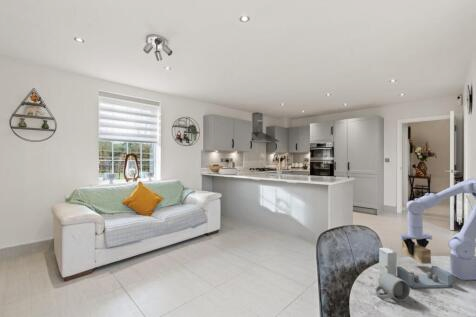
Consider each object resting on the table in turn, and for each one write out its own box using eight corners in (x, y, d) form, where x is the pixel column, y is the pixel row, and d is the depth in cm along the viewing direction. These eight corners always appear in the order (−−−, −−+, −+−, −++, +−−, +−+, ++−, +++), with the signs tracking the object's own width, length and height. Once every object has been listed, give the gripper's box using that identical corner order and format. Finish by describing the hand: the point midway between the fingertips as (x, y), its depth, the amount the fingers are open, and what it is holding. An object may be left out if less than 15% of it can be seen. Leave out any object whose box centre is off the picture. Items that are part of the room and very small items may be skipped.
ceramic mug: (392, 288, 94) (391, 269, 94) (410, 299, 86) (409, 279, 86) (370, 291, 92) (369, 272, 92) (386, 304, 84) (385, 283, 84)
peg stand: (435, 277, 102) (435, 265, 102) (452, 287, 94) (451, 275, 94) (397, 277, 102) (396, 266, 102) (410, 287, 94) (410, 275, 94)
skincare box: (378, 273, 106) (377, 247, 106) (387, 273, 106) (387, 247, 106) (387, 280, 100) (387, 252, 100) (397, 280, 100) (396, 252, 100)
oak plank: (402, 252, 116) (402, 240, 116) (410, 252, 116) (410, 240, 116) (422, 263, 104) (421, 250, 104) (430, 263, 104) (430, 250, 104)
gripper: (423, 223, 114) (424, 250, 114) (394, 224, 114) (395, 251, 114) (435, 227, 107) (436, 256, 107) (404, 228, 107) (405, 257, 107)
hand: (415, 254), depth 110 cm, fingers closed on oak plank, 4 cm apart
